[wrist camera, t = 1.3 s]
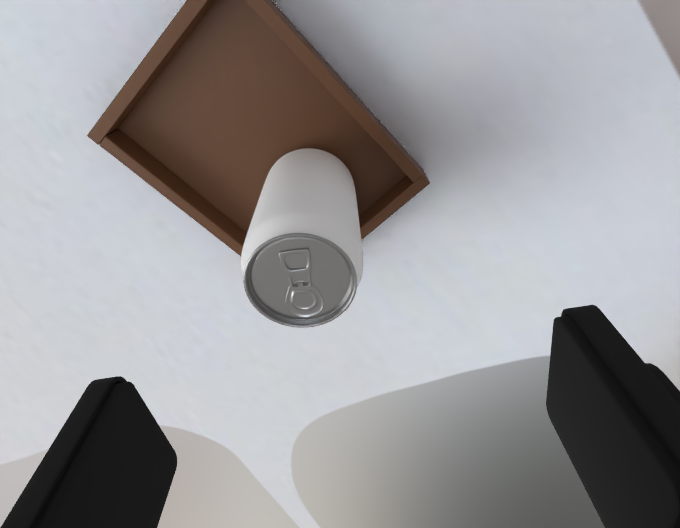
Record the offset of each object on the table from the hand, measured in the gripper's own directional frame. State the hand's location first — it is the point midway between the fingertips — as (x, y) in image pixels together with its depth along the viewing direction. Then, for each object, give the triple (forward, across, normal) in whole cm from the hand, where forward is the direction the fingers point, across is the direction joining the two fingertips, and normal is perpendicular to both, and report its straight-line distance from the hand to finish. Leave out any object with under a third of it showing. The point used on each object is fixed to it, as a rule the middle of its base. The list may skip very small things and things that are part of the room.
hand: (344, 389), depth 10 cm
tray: (+23, +5, +1) cm, 24 cm away
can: (+23, +3, +4) cm, 24 cm away
